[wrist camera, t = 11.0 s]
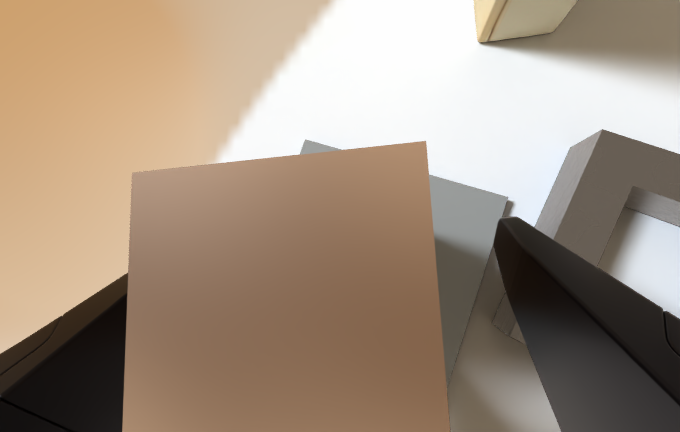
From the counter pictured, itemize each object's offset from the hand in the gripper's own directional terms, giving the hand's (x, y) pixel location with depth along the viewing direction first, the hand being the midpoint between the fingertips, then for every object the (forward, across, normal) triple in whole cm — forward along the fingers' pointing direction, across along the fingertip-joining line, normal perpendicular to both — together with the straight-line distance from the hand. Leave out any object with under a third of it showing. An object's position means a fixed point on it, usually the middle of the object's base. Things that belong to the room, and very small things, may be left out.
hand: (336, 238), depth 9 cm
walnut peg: (+5, 0, +7) cm, 8 cm away
